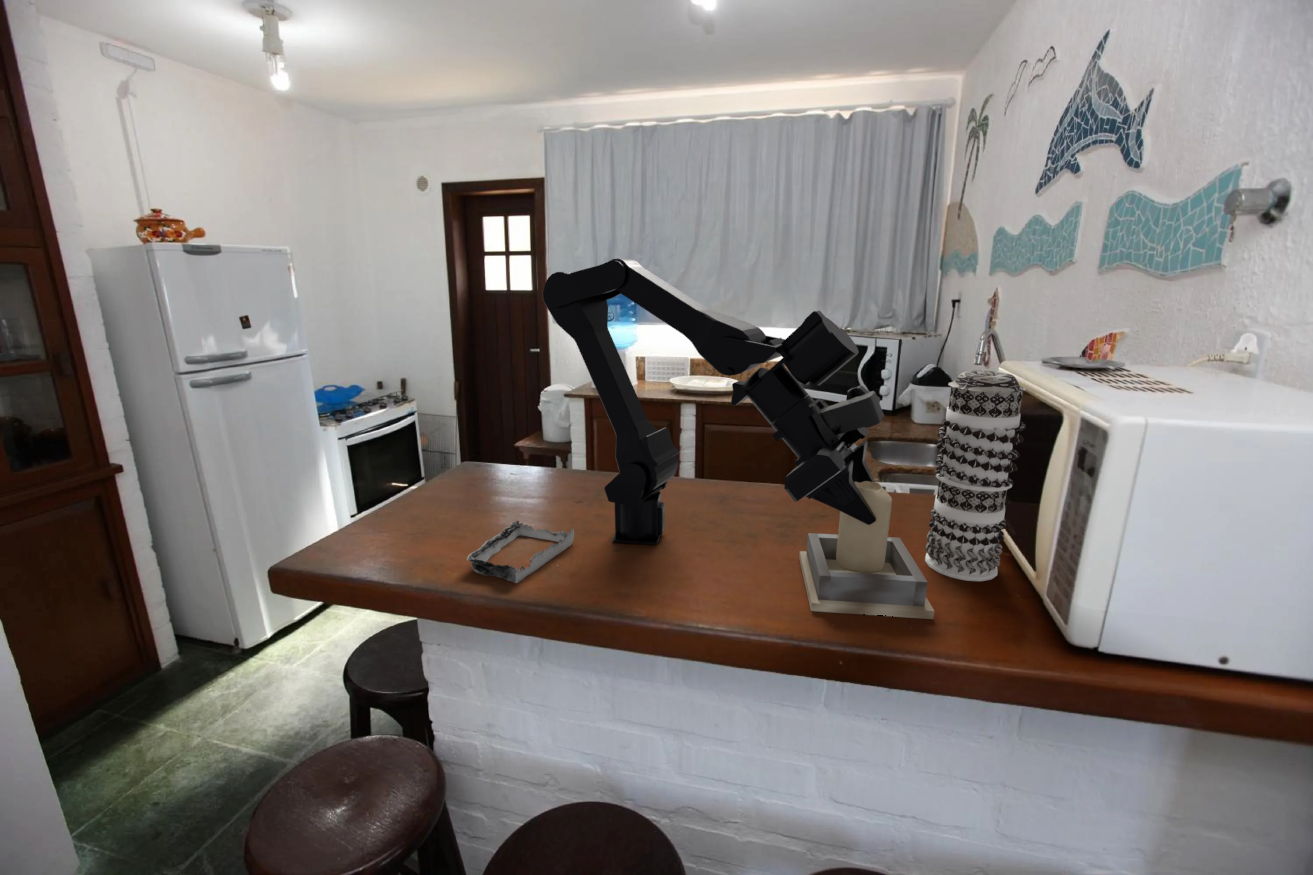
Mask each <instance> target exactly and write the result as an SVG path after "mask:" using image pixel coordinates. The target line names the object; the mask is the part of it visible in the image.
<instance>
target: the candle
mask: <svg viewBox="0 0 1313 875" xmlns="http://www.w3.org/2000/svg"><path fill="white" fill-rule="evenodd" d="M854 483H855V485H856V486H857V488H858V489H859V491H860V493H861V494H862V496H863V497H864V499H865V500H866V502H867V503H868V505H869V507H870V508H871V510H872V512H873V513H874V515H875V517H876V521H875V522H874V523H872V524H871V525H867V524H865V523H863V522H861V521H859V520H857V519H855V518H853V517H851V516H849V515H847V514H845V513H843V512H841V511H839V522H838V533H837V535H838V540H837V551H836V561H837V563H838V564H839V565H840V566H842V567H843V568H845V569H848V570H850V571H854V572H858V573H876V572H879V571H881V570H882V569H883V567H884V563H885V555H886V547H887V539H888V537H889V529H890V519H891V513H892V512H891V511H892V502H893V498H892V496H891V495H890V494H889V493H888V492H887V491H886V490H885V489H884V488H883V487H882V485H881V484H880V483H879V482H876V481H875V482H869V481H863V482H861V483H858V482H854Z"/></svg>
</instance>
